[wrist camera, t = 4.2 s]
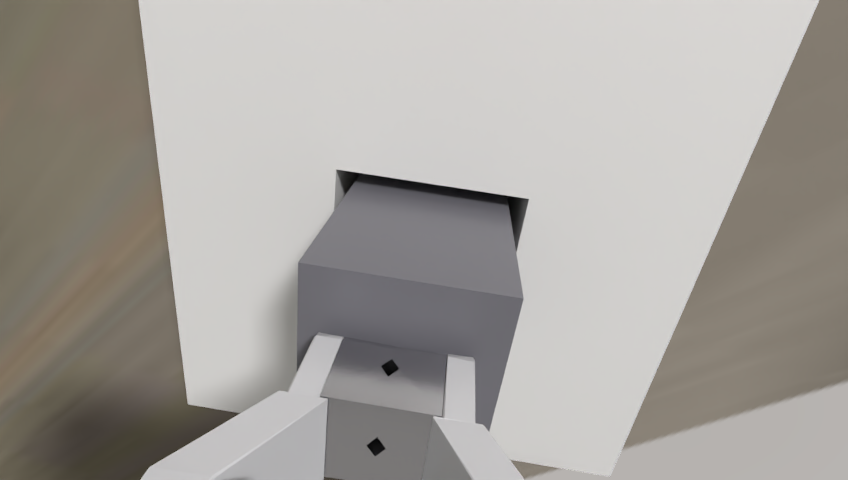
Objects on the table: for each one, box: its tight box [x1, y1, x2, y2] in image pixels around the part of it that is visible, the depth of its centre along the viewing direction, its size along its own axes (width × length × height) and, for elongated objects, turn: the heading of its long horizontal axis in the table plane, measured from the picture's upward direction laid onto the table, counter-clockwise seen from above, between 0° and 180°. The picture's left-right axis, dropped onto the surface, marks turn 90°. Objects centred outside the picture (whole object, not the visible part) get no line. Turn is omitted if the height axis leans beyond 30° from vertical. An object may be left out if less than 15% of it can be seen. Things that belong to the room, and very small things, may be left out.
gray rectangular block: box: [297, 173, 524, 431], centre depth 12 cm, size 4×4×6 cm
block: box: [139, 0, 819, 477], centre depth 13 cm, size 14×26×7 cm, turn 173°
